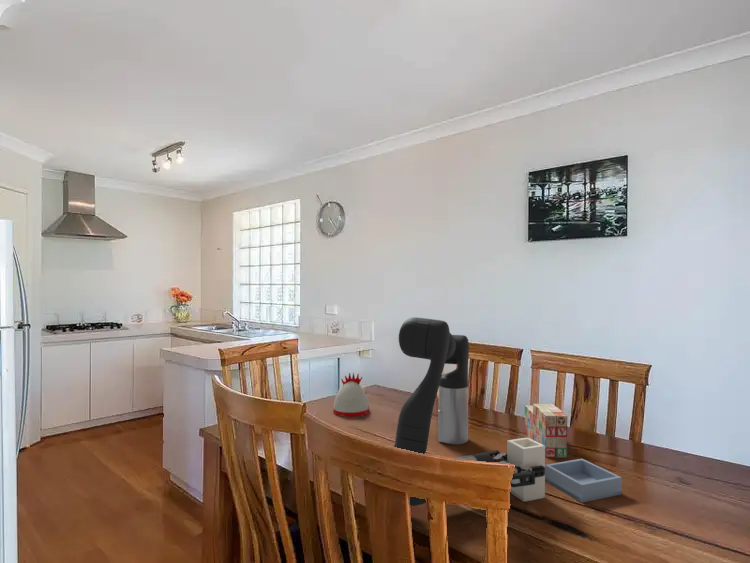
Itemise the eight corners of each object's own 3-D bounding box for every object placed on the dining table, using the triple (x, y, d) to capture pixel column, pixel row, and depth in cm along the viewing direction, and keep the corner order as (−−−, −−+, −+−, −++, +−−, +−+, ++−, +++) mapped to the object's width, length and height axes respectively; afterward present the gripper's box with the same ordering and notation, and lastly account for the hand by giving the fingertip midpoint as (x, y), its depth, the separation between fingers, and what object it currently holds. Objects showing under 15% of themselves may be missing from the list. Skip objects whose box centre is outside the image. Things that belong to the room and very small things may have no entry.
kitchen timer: (368, 417, 166) (368, 376, 166) (331, 416, 167) (331, 376, 167) (369, 406, 180) (369, 369, 180) (335, 406, 180) (335, 369, 181)
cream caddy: (523, 501, 102) (523, 449, 102) (507, 490, 107) (507, 440, 107) (544, 497, 104) (544, 445, 104) (527, 486, 109) (527, 437, 109)
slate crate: (581, 502, 101) (581, 485, 101) (544, 480, 113) (544, 464, 113) (621, 494, 105) (621, 477, 105) (582, 473, 117) (582, 458, 117)
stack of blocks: (524, 433, 149) (524, 396, 149) (543, 433, 149) (543, 396, 149) (545, 458, 128) (545, 414, 128) (567, 458, 127) (567, 415, 127)
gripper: (490, 468, 94) (552, 458, 99) (455, 445, 107) (512, 437, 113) (490, 504, 94) (552, 492, 99) (456, 476, 107) (512, 467, 113)
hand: (531, 463), depth 106 cm, fingers open, 8 cm apart
